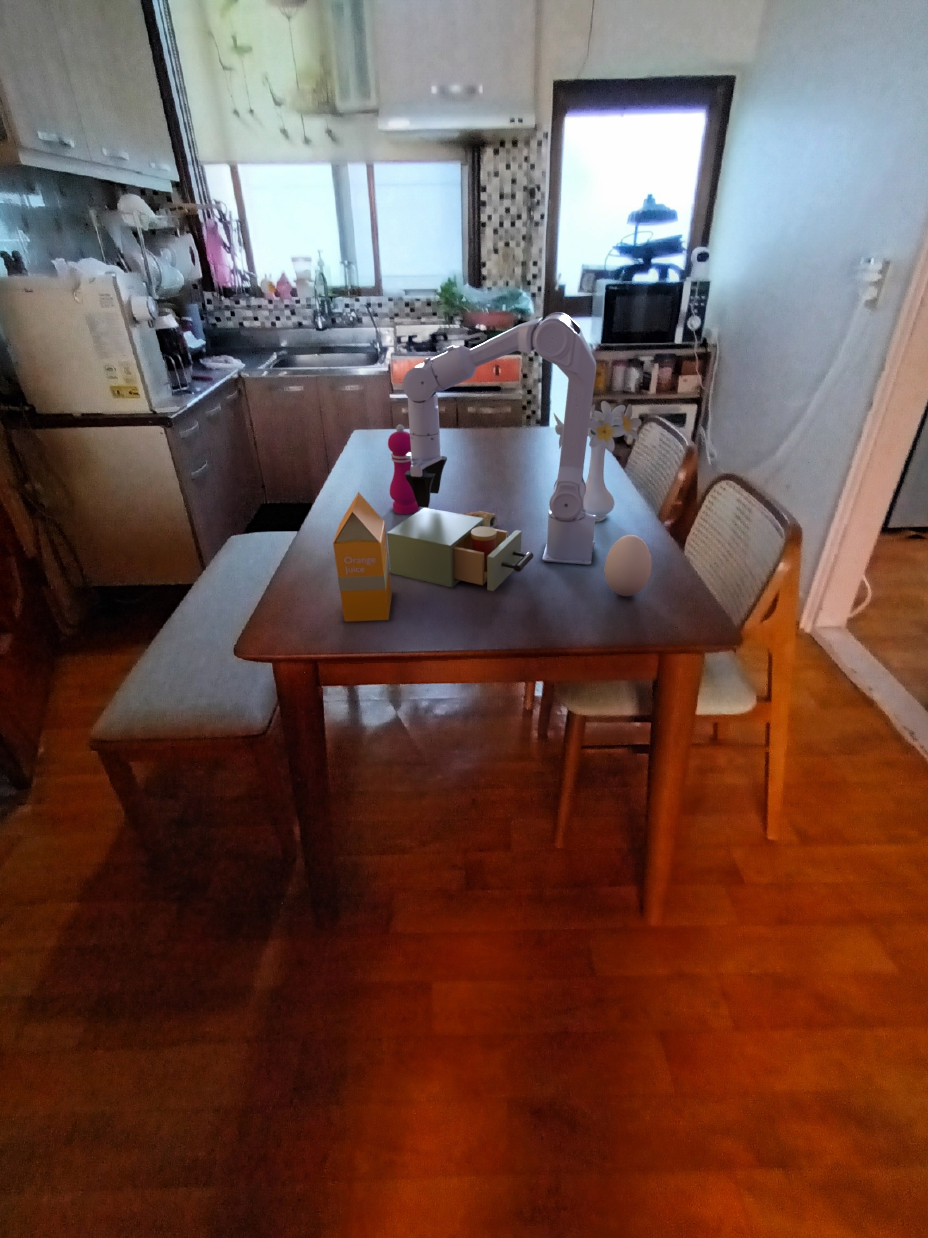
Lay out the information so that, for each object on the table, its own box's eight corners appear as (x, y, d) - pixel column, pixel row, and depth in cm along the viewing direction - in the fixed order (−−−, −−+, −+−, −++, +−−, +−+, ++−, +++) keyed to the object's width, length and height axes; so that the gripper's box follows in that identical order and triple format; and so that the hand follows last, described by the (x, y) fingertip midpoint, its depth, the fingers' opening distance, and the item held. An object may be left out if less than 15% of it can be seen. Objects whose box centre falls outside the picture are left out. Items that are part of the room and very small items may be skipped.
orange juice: (392, 594, 113) (382, 489, 103) (389, 620, 106) (377, 510, 95) (349, 596, 113) (335, 491, 103) (343, 621, 106) (326, 511, 95)
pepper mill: (385, 512, 147) (377, 426, 136) (401, 501, 152) (395, 419, 142) (411, 517, 144) (404, 430, 133) (427, 506, 149) (422, 422, 139)
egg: (593, 594, 112) (598, 536, 106) (618, 579, 116) (625, 522, 110) (631, 610, 107) (639, 550, 101) (655, 593, 111) (665, 535, 105)
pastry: (449, 530, 137) (448, 513, 135) (462, 519, 142) (461, 503, 140) (488, 536, 134) (488, 519, 132) (500, 524, 139) (500, 508, 137)
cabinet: (484, 557, 125) (484, 518, 121) (452, 587, 115) (450, 545, 110) (426, 545, 131) (424, 507, 126) (390, 573, 121) (386, 532, 116)
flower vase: (545, 508, 147) (550, 398, 133) (622, 505, 147) (635, 396, 134) (553, 530, 136) (560, 414, 122) (637, 527, 136) (653, 411, 123)
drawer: (539, 566, 119) (540, 534, 116) (513, 596, 110) (513, 561, 107) (463, 551, 126) (463, 520, 122) (433, 577, 117) (431, 544, 113)
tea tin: (498, 561, 119) (498, 527, 115) (494, 573, 115) (494, 537, 111) (474, 559, 120) (473, 525, 116) (469, 571, 116) (468, 535, 112)
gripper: (415, 421, 125) (419, 485, 132) (392, 442, 113) (398, 511, 120) (449, 422, 124) (451, 487, 131) (430, 443, 112) (433, 514, 119)
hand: (428, 499), depth 126 cm, fingers open, 7 cm apart
